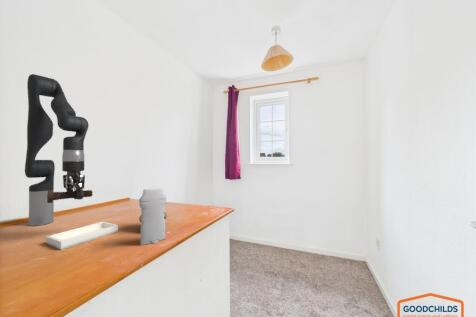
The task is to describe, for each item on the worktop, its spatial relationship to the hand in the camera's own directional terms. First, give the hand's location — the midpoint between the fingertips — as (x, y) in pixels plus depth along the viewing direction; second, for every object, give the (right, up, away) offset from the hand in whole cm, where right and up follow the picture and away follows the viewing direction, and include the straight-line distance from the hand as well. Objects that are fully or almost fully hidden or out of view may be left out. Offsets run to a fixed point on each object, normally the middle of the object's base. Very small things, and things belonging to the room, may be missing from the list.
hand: (73, 198), depth 87 cm
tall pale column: (+39, -16, -7) cm, 42 cm away
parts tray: (+7, -16, -3) cm, 18 cm away
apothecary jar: (+32, -16, +7) cm, 37 cm away
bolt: (-1, -1, -1) cm, 1 cm away
